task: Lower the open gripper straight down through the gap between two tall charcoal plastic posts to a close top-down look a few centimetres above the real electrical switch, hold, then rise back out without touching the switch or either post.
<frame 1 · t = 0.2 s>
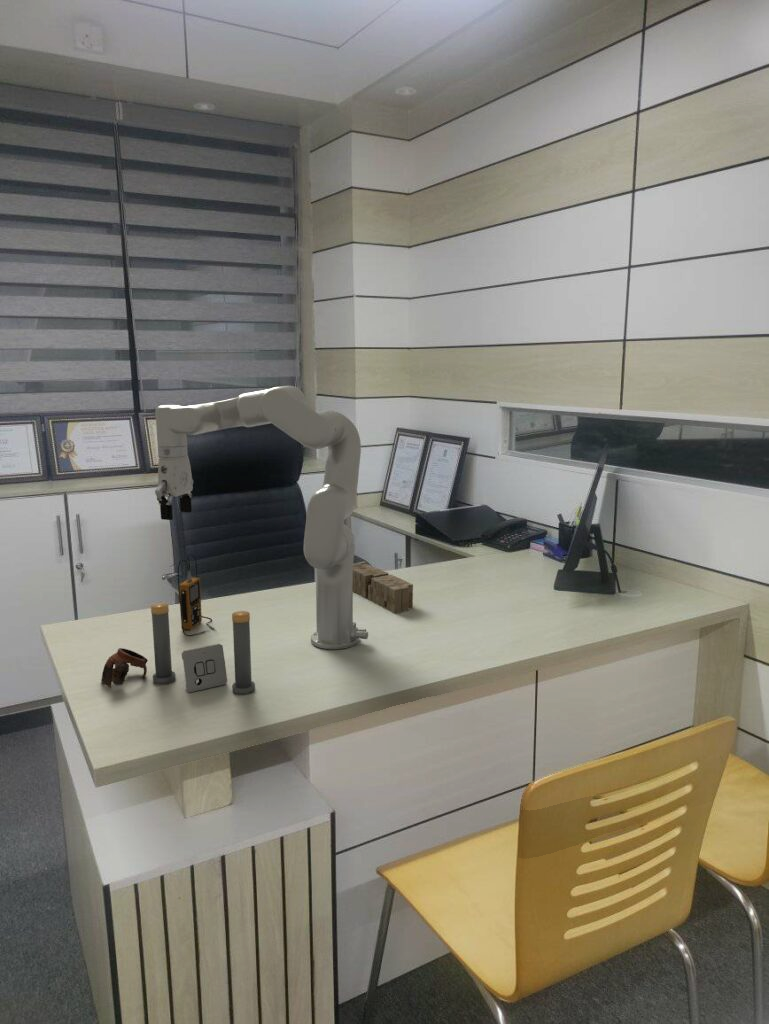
hand: (176, 515, 199), 31 cm above the table, fingers open, 9 cm apart
brown curved hollow piece: (123, 682, 171), on the table
post far: (164, 679, 171), on the table
electrical switch: (203, 685, 169), on the table
multimeter: (204, 627, 204), on the table
block tower: (378, 599, 229), on the table
post near: (243, 689, 166), on the table
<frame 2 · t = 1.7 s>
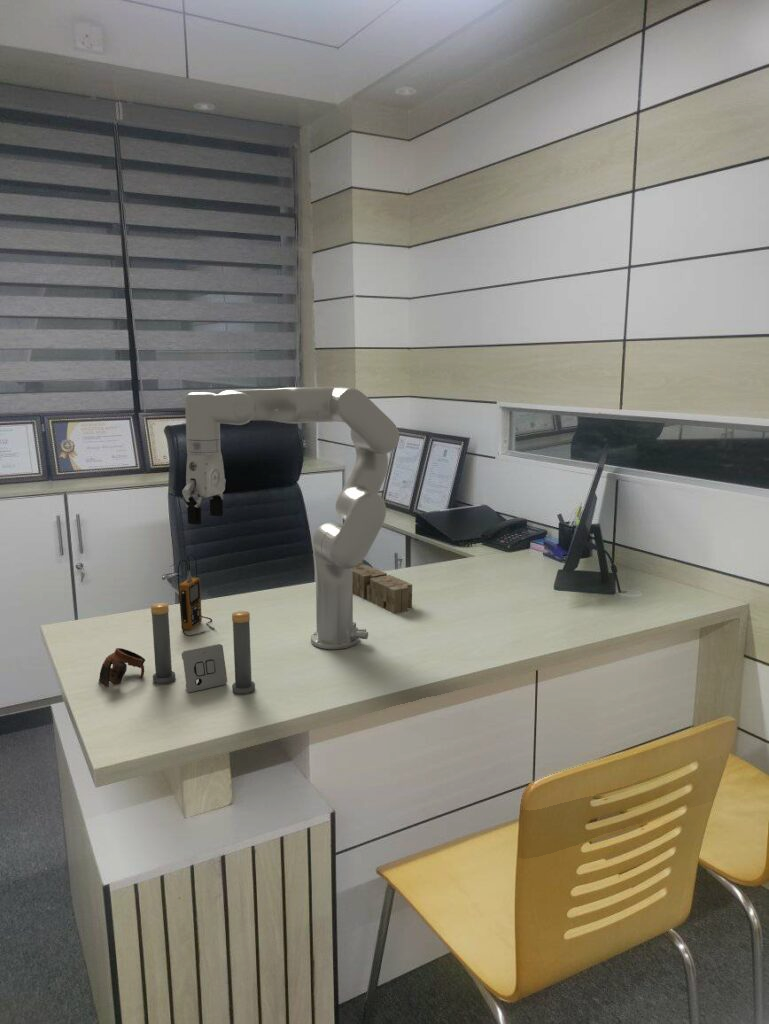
hand: (206, 519, 173), 36 cm above the table, fingers open, 9 cm apart
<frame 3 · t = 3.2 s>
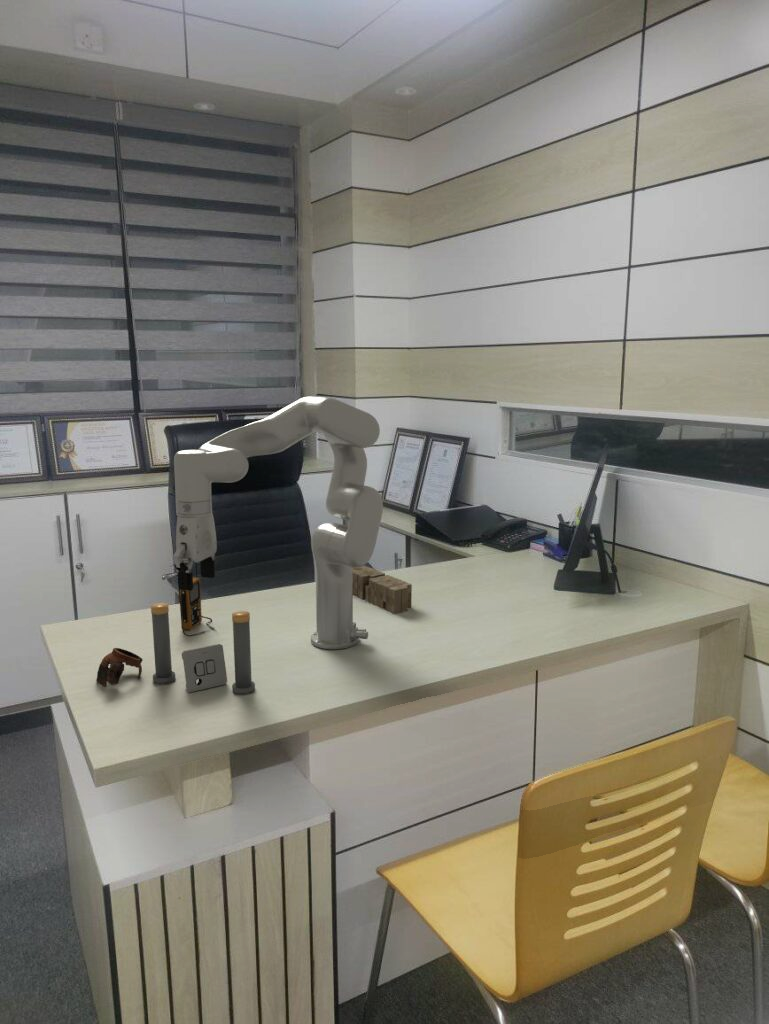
hand: (197, 583, 164), 24 cm above the table, fingers open, 9 cm apart
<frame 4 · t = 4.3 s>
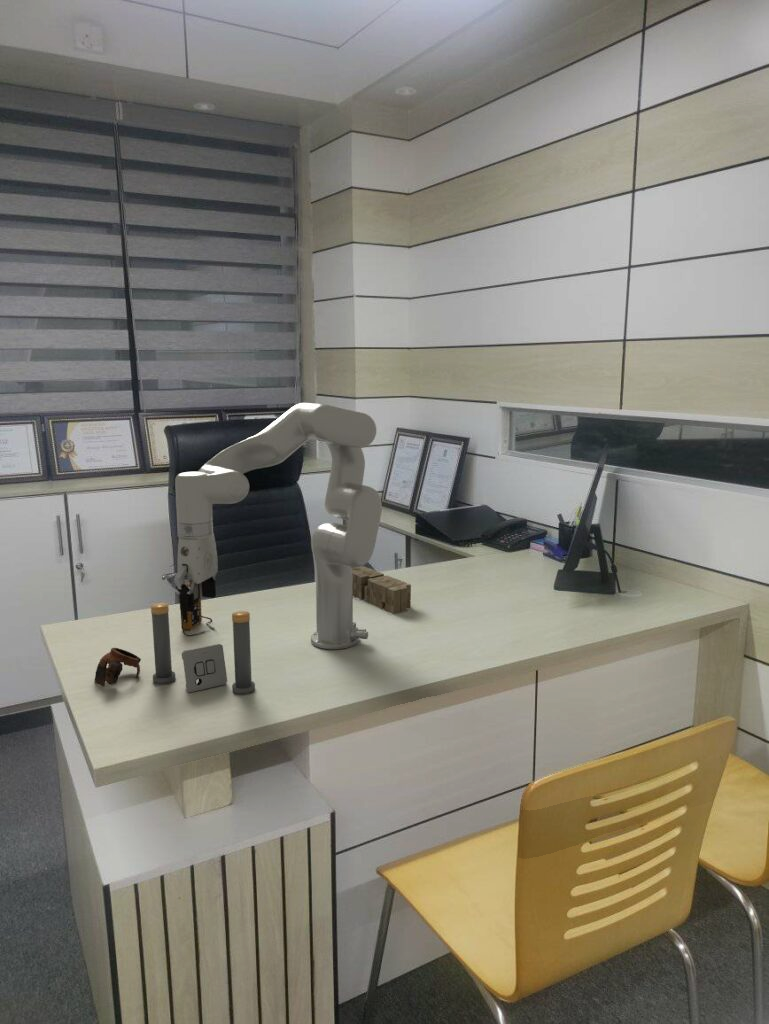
hand: (198, 603, 165), 19 cm above the table, fingers open, 9 cm apart
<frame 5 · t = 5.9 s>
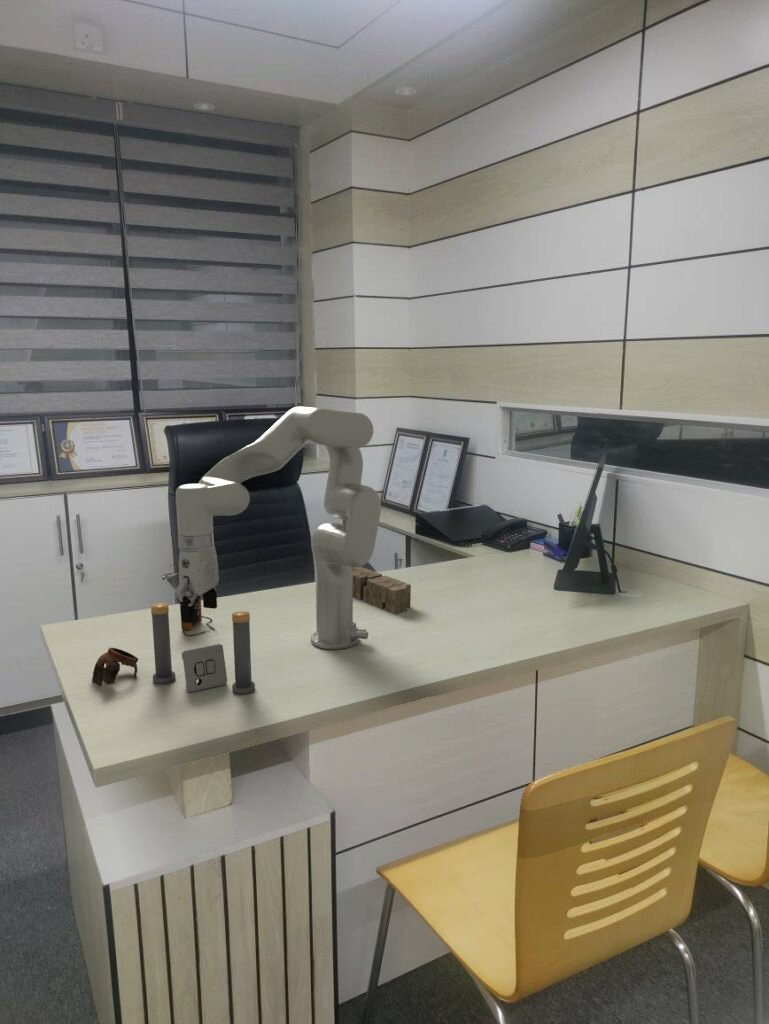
hand: (199, 614, 165), 17 cm above the table, fingers open, 9 cm apart
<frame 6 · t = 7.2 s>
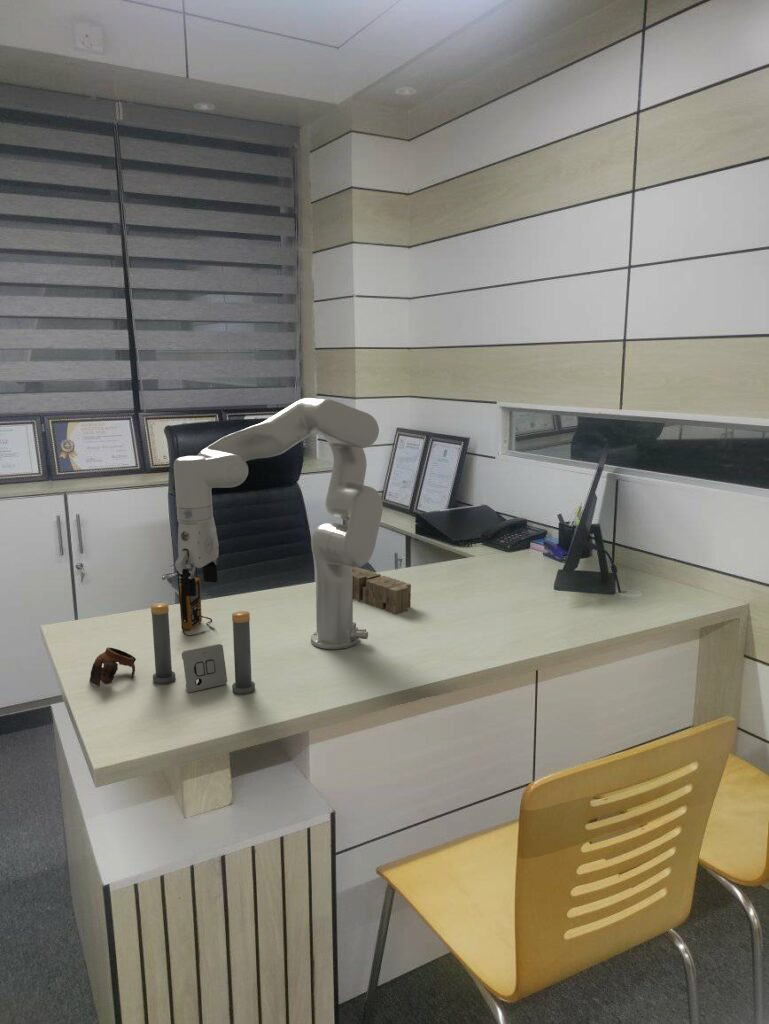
hand: (200, 588, 164), 23 cm above the table, fingers open, 9 cm apart
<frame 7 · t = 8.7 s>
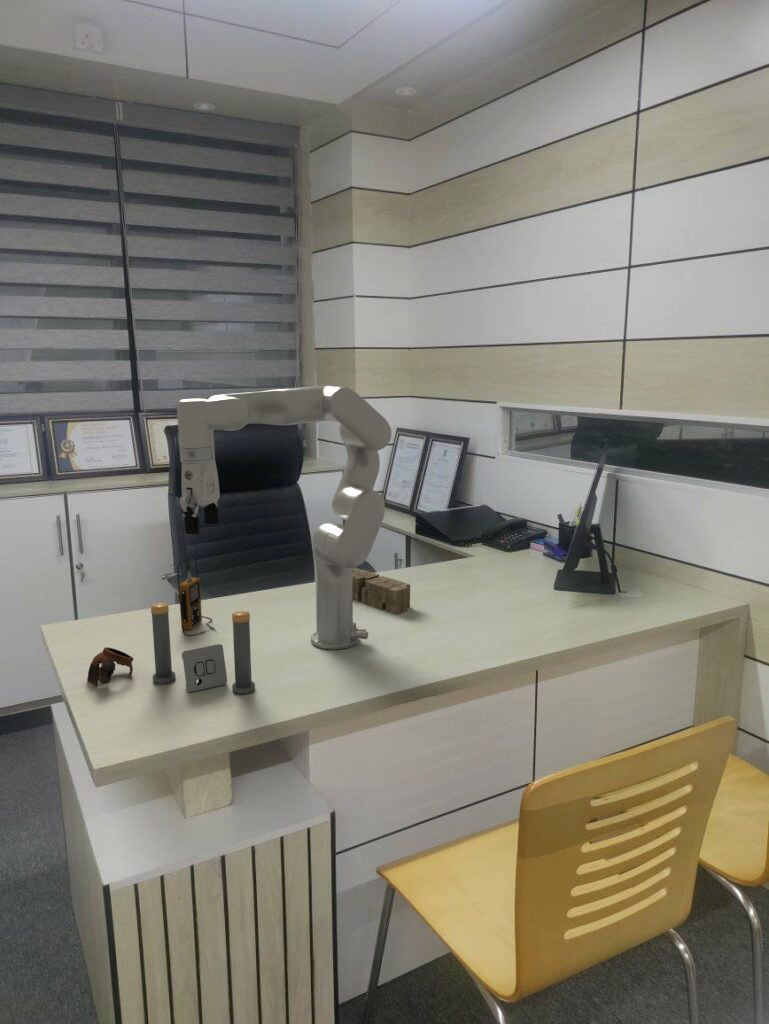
hand: (202, 528, 170), 35 cm above the table, fingers open, 9 cm apart
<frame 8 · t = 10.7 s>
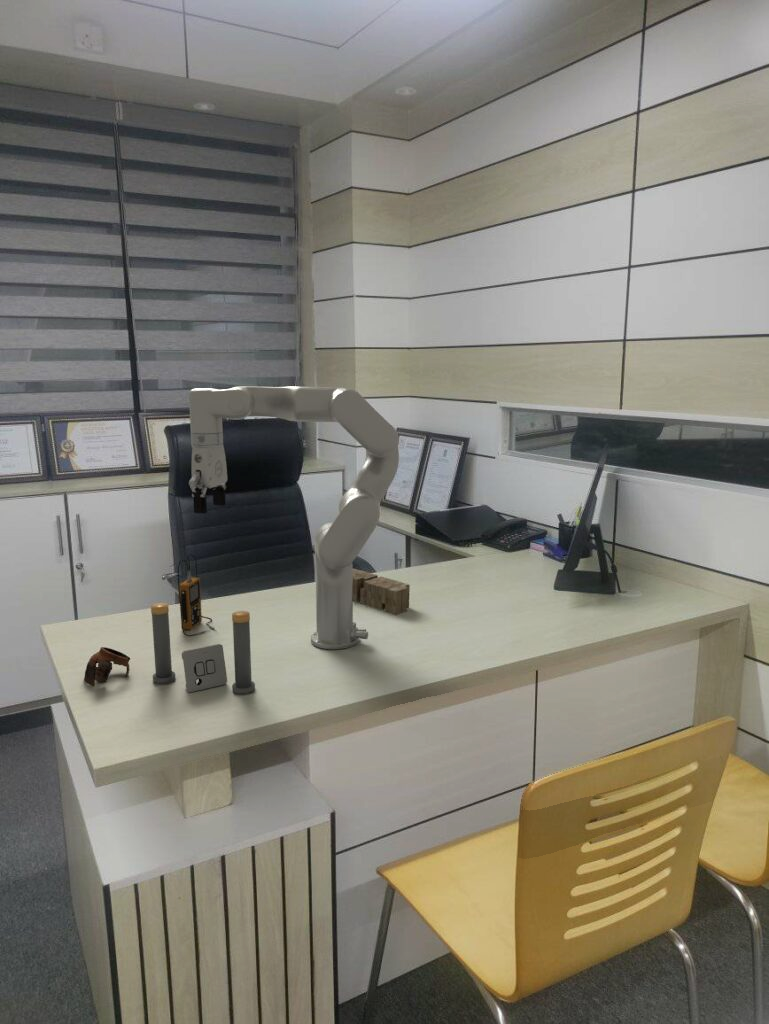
hand: (210, 508, 183), 36 cm above the table, fingers open, 9 cm apart
at the end: electrical switch inside the target area (0.0 cm from its centre), on the table; post near tilted 0°; post far tilted 0° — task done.
